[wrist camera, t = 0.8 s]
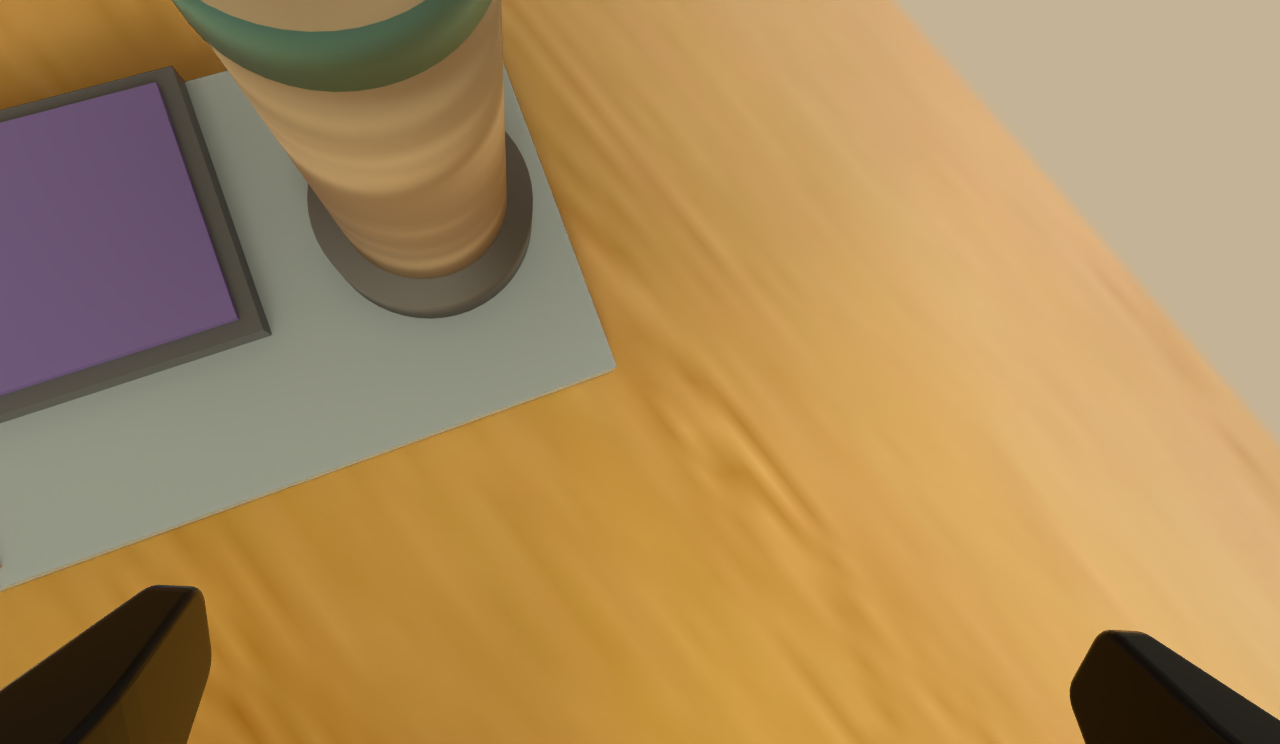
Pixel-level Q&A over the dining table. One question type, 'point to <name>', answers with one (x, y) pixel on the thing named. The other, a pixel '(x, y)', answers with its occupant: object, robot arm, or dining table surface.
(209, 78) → the stamp board
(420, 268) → the stamp
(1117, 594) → the dining table surface
